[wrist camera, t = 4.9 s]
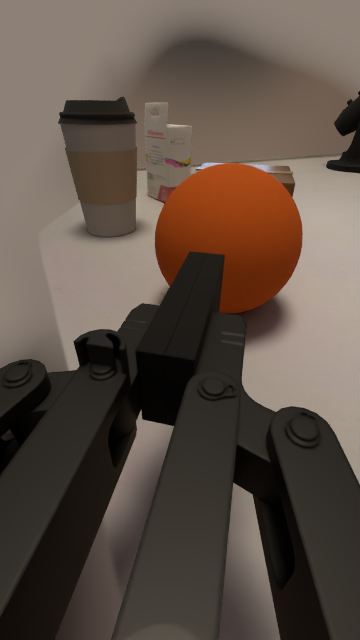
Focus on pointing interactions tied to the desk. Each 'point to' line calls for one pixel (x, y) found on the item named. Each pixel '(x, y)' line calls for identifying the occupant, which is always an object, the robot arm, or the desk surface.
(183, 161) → the ink cartridge box
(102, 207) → the coffee cup
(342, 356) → the desk surface
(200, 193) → the ball
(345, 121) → the microphone
